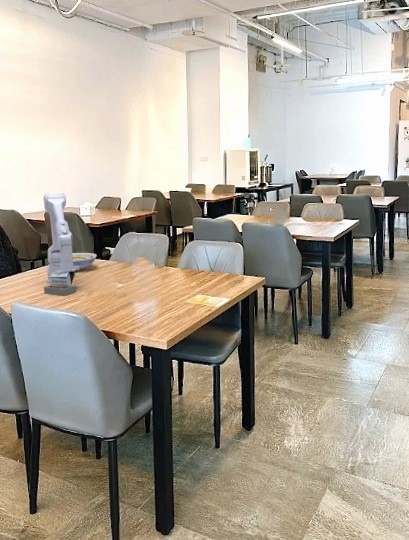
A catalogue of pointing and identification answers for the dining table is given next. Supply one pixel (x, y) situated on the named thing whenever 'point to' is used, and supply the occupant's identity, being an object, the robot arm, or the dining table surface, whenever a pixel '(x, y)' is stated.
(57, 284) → the medicine box
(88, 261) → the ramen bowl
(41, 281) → the dining table surface
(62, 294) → the cradle jig
